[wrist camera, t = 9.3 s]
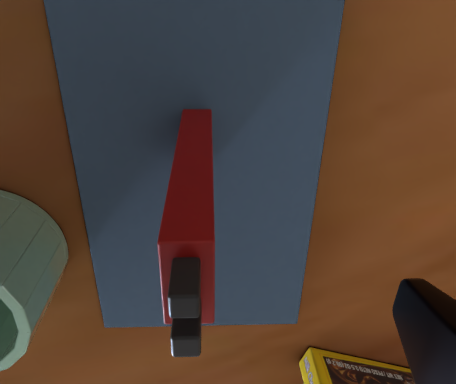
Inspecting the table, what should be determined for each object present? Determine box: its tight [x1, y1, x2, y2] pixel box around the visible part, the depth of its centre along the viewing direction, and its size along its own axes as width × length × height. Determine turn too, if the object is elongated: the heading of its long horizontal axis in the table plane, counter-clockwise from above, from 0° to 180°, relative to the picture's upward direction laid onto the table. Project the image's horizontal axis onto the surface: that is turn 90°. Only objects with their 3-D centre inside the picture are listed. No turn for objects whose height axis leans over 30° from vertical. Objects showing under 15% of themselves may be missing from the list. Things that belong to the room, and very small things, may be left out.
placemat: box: [44, 0, 345, 327], centre depth 17 cm, size 21×11×1 cm, turn 179°
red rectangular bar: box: [157, 109, 215, 357], centre depth 12 cm, size 2×1×10 cm, turn 179°
